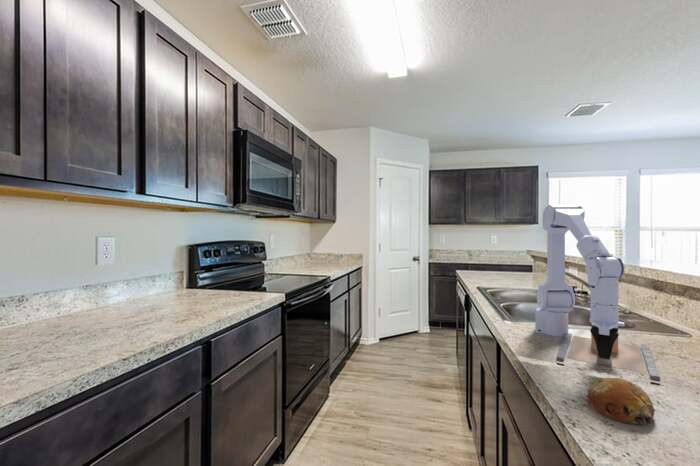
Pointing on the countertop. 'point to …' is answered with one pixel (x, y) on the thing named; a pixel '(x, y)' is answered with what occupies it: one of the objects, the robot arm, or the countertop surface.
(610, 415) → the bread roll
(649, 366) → the guide rails
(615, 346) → the terracotta block
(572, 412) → the countertop surface
